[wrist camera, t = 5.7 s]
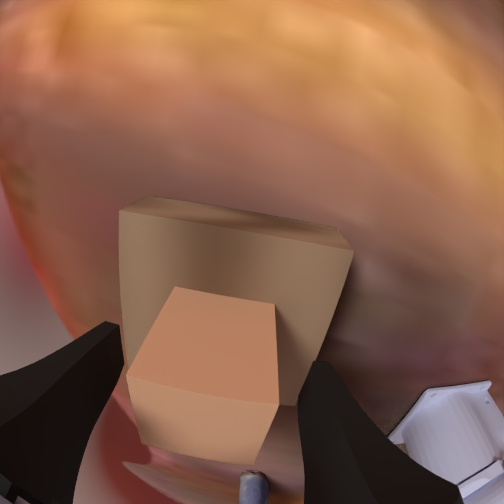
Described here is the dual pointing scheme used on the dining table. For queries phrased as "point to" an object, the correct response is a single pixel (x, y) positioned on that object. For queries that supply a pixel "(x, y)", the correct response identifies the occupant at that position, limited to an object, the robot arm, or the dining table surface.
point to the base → (233, 272)
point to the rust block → (207, 377)
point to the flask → (253, 488)
